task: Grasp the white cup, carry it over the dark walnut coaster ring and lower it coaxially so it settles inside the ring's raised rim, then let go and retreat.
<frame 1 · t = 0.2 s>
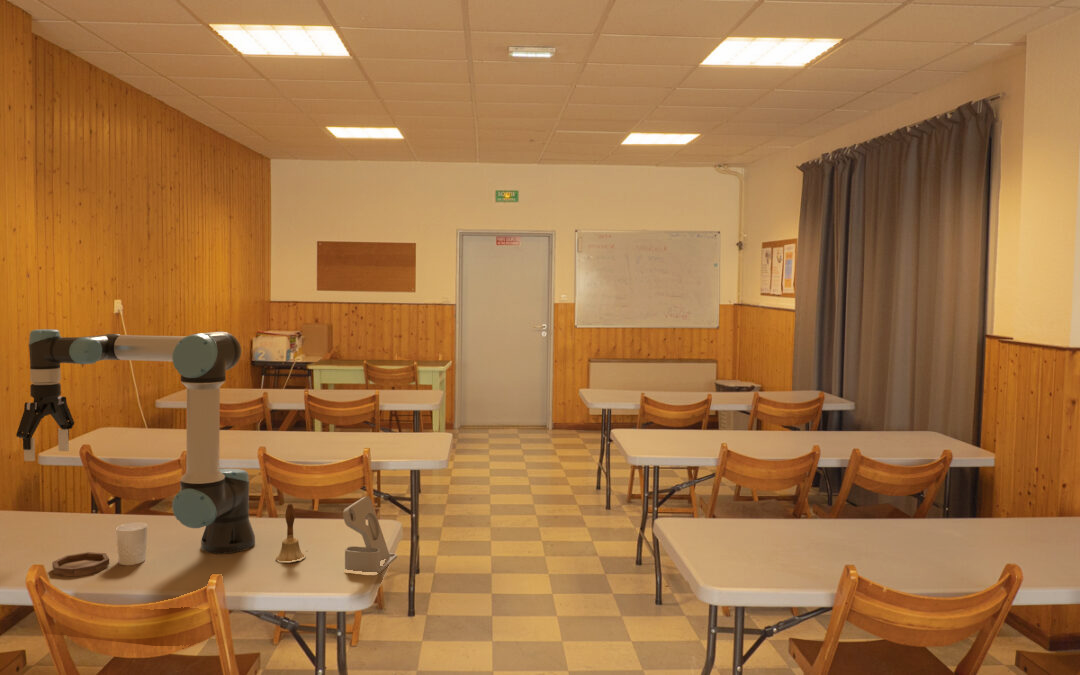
hand: (47, 455, 237), 28 cm above the table, fingers open, 13 cm apart
hand bell: (290, 559, 235), on the table
white cup: (132, 562, 230), on the table
coaster ring: (81, 567, 224), on the table
phone holder: (370, 565, 232), on the table
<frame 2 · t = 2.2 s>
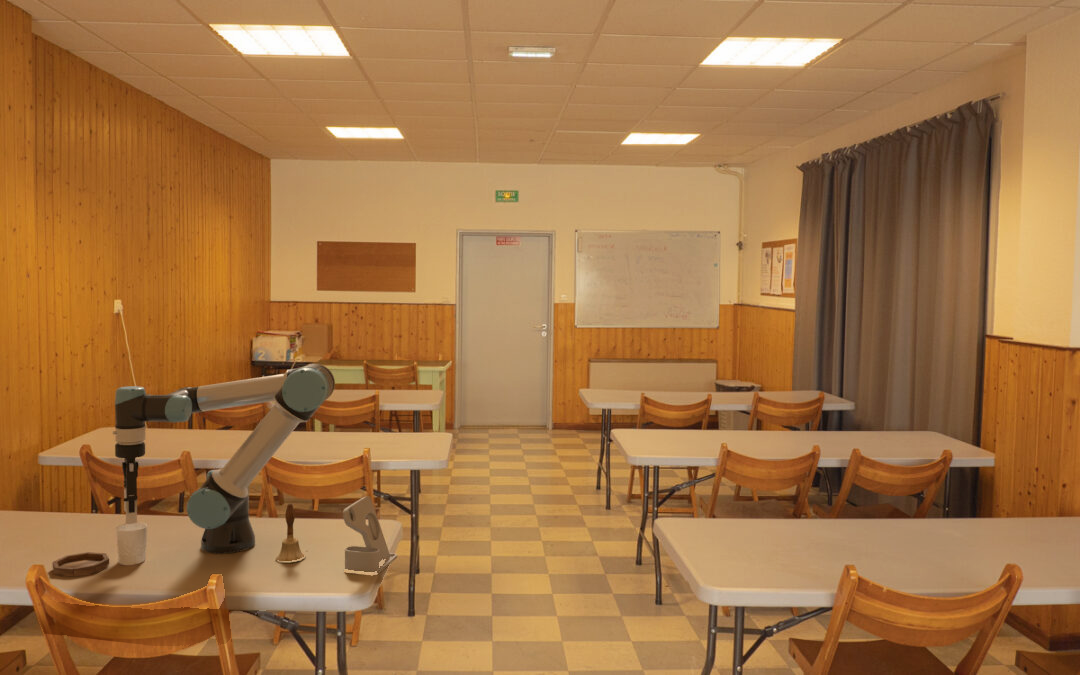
hand: (130, 517, 229), 13 cm above the table, fingers open, 13 cm apart
nothing on the table moved.
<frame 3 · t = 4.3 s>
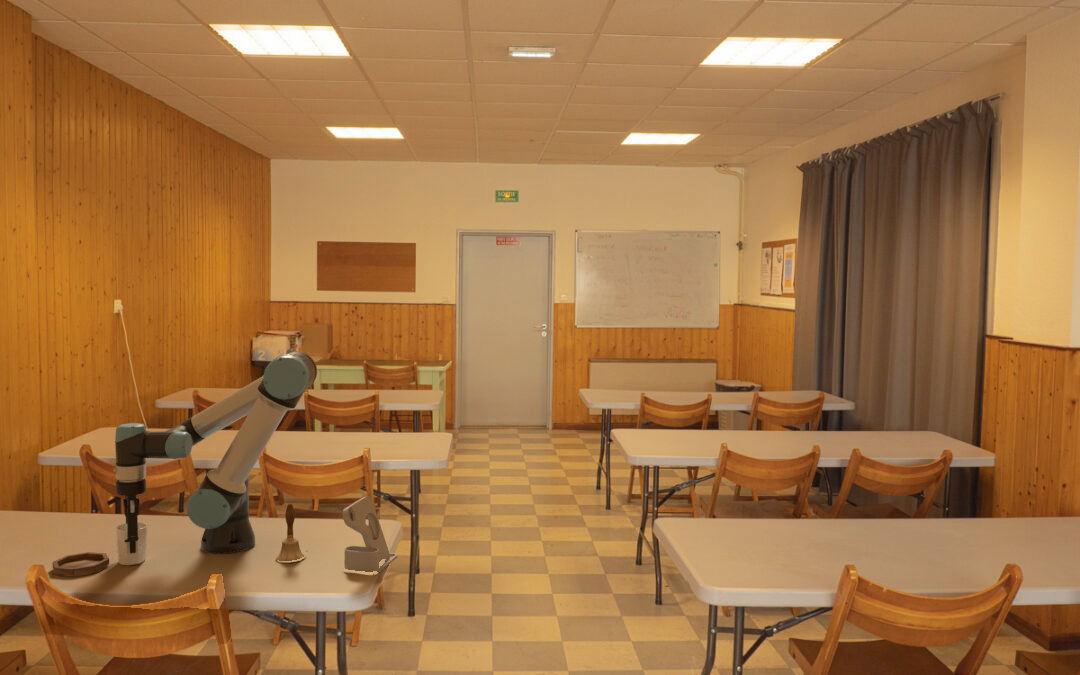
hand: (132, 558, 230), 1 cm above the table, fingers closed on white cup, 7 cm apart
white cup: (132, 562, 230), on the table, touching gripper
everything else where it was.
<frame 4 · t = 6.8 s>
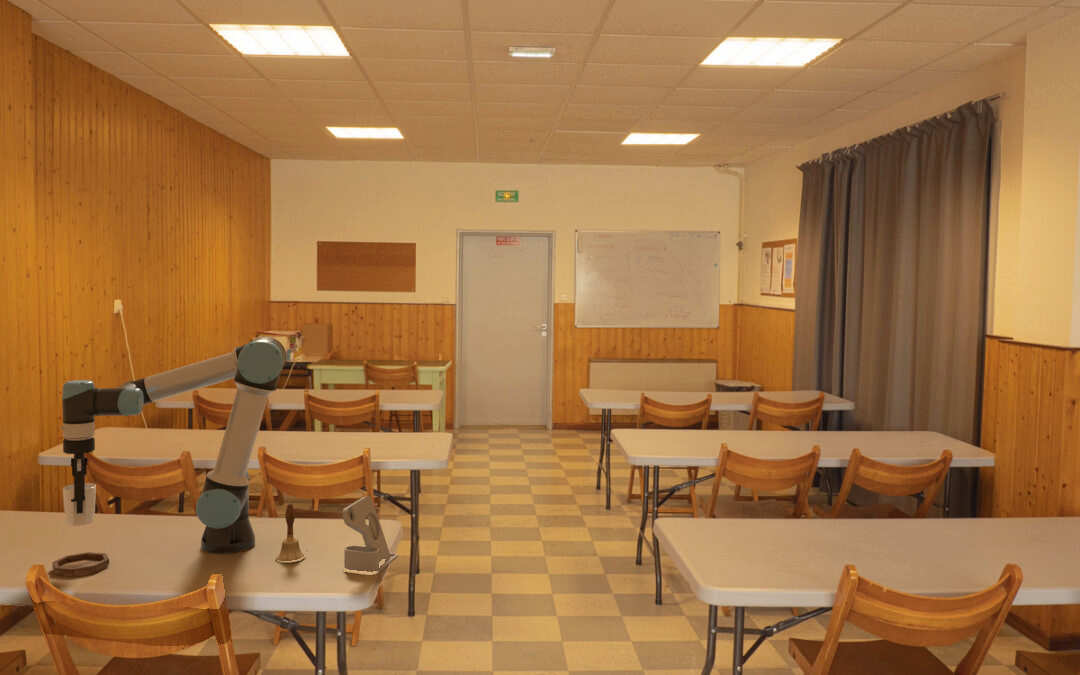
hand: (80, 520, 223), 13 cm above the table, fingers closed on white cup, 7 cm apart
white cup: (80, 523, 223), point 12 cm above the table, touching gripper
everything else where it was.
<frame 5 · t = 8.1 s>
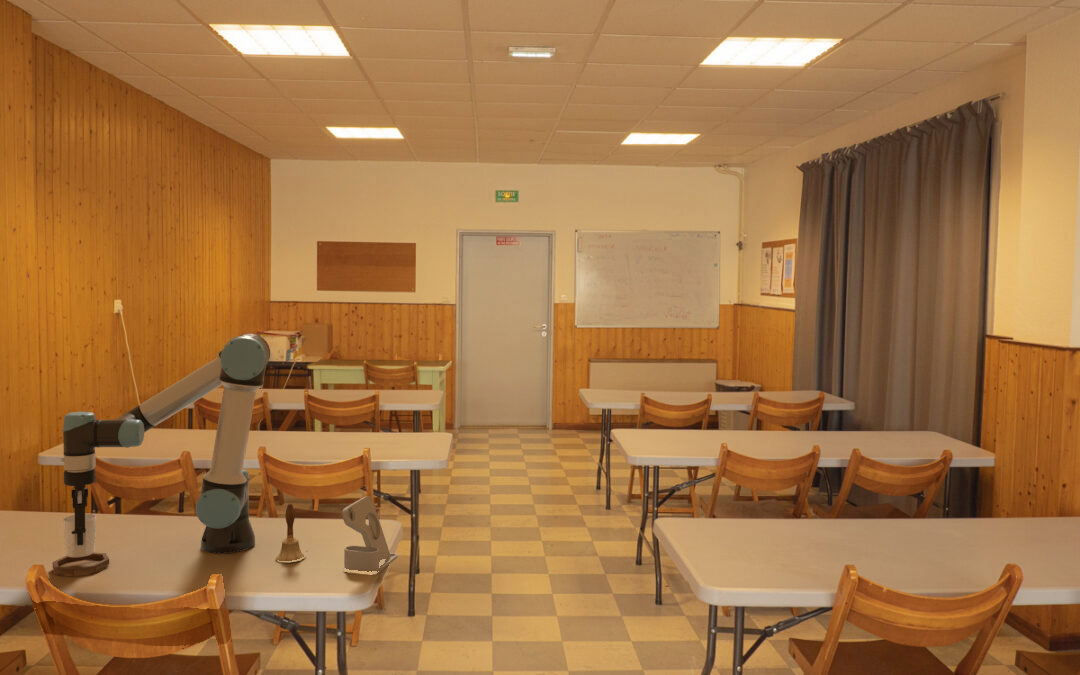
hand: (80, 551, 224), 5 cm above the table, fingers closed on white cup, 7 cm apart
white cup: (80, 554, 224), point 4 cm above the table, touching gripper
everything else where it was.
when the fingers open (3 cm above the table, at t = 9.3 s): white cup drops 2 cm, resting on coaster ring.
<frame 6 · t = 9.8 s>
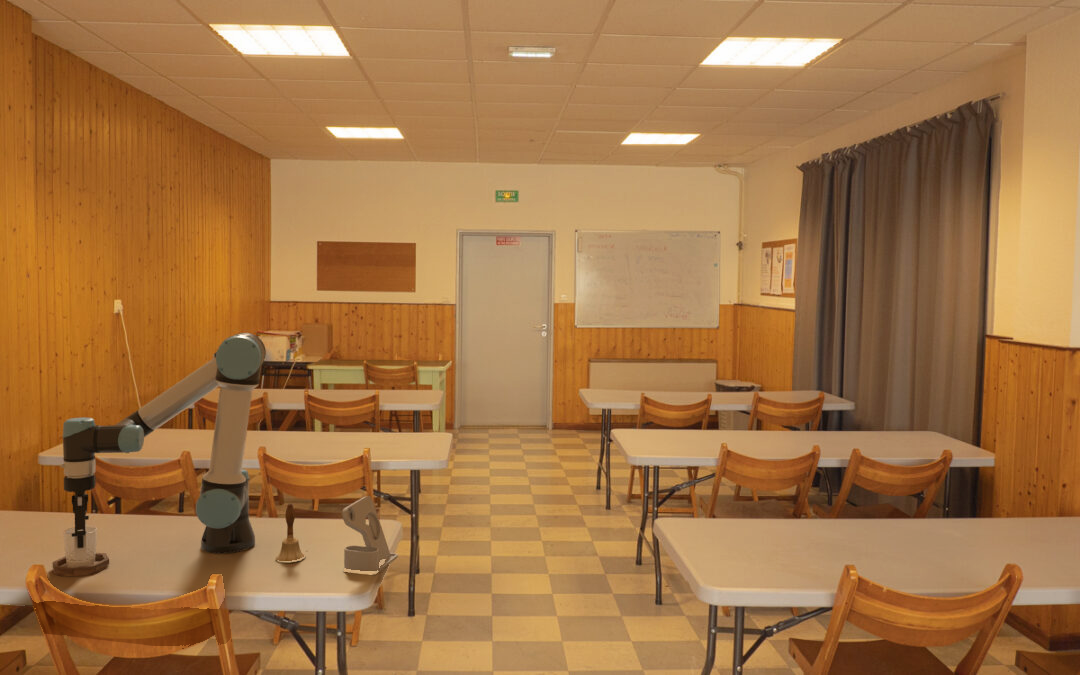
hand: (80, 551, 224), 5 cm above the table, fingers open, 13 cm apart
white cup: (80, 566, 224), resting on coaster ring
everything else where it was.
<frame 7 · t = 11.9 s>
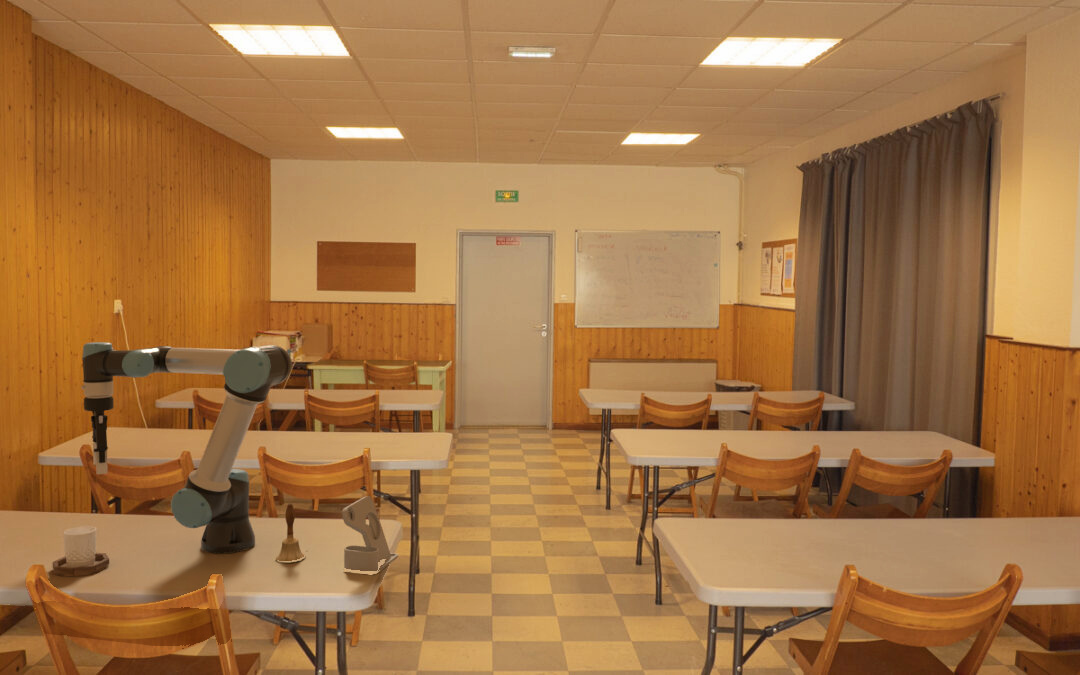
hand: (100, 469, 236), 24 cm above the table, fingers open, 13 cm apart
nothing on the table moved.
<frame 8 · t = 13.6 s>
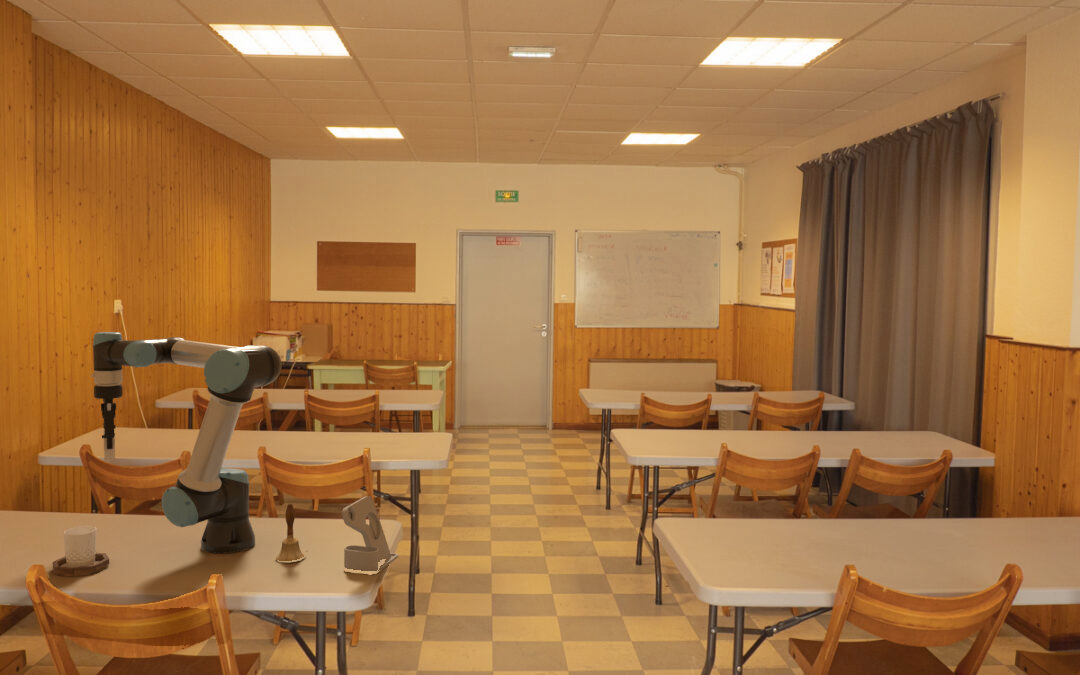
hand: (109, 455, 243), 27 cm above the table, fingers open, 13 cm apart
nothing on the table moved.
at the end: white cup 0.3 cm from the coaster ring (horizontally); white cup tilted 0°; white cup touching coaster ring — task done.
